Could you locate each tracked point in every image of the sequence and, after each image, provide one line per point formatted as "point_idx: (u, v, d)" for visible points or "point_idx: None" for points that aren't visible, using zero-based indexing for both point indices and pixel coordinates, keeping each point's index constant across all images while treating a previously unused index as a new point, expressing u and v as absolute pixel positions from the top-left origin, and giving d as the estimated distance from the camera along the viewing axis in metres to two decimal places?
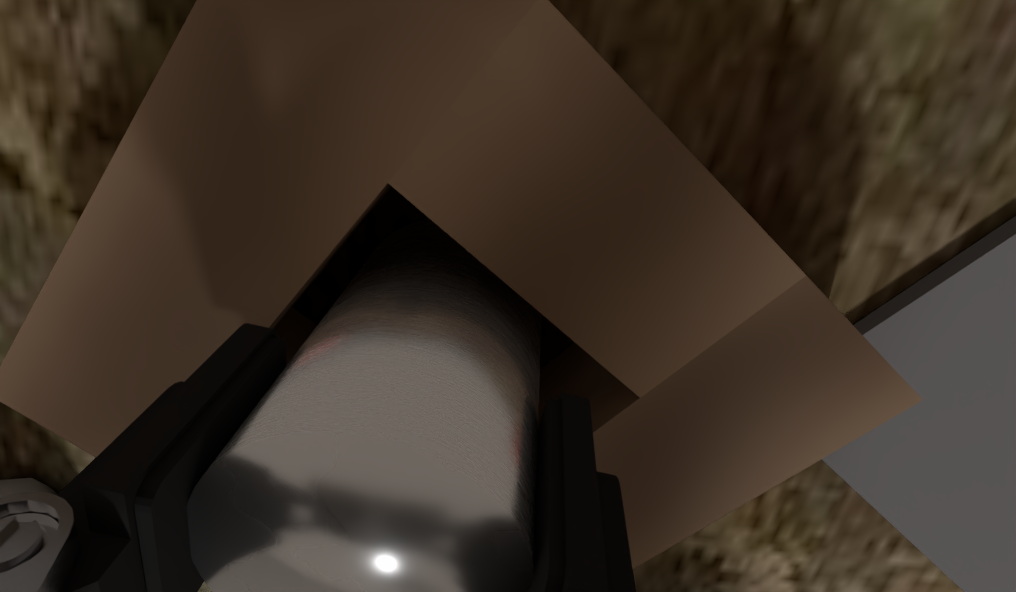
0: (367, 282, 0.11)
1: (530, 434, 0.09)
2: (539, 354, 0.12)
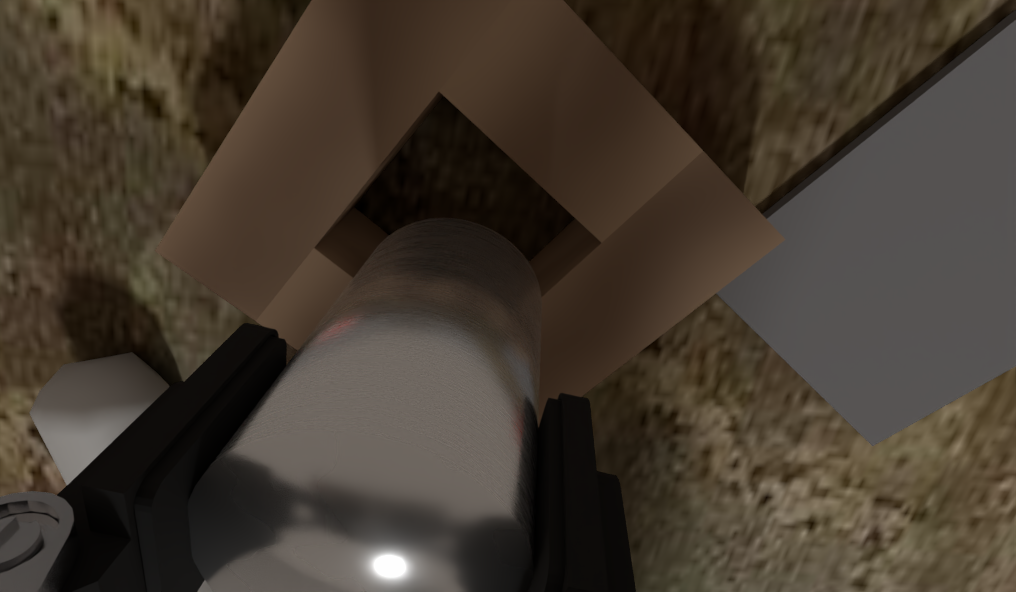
0: (367, 282, 0.11)
1: (530, 433, 0.09)
2: (539, 353, 0.12)
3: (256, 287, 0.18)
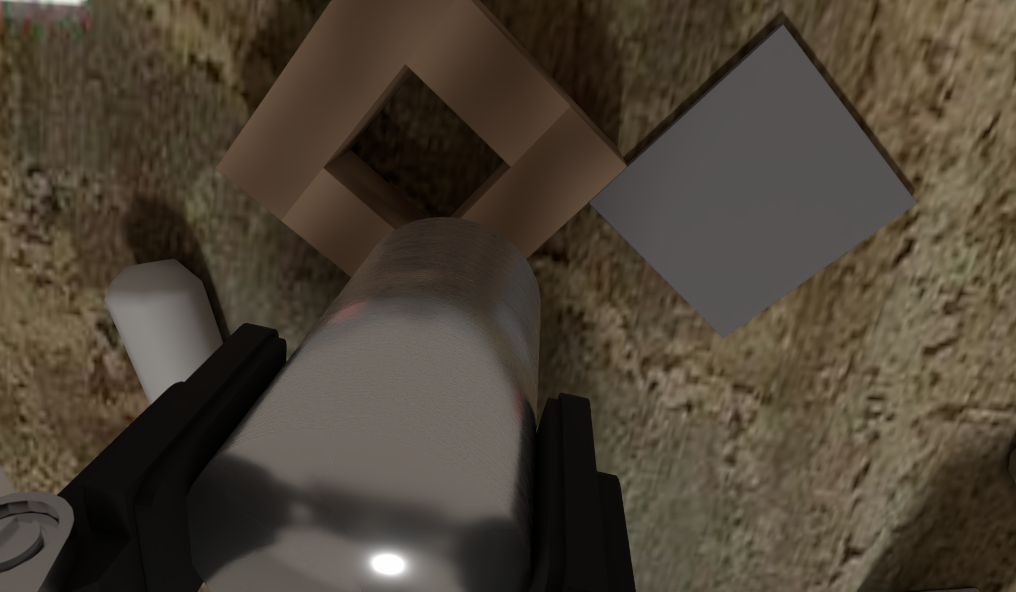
0: (365, 281, 0.11)
1: (528, 433, 0.09)
2: (538, 353, 0.12)
3: (283, 195, 0.27)
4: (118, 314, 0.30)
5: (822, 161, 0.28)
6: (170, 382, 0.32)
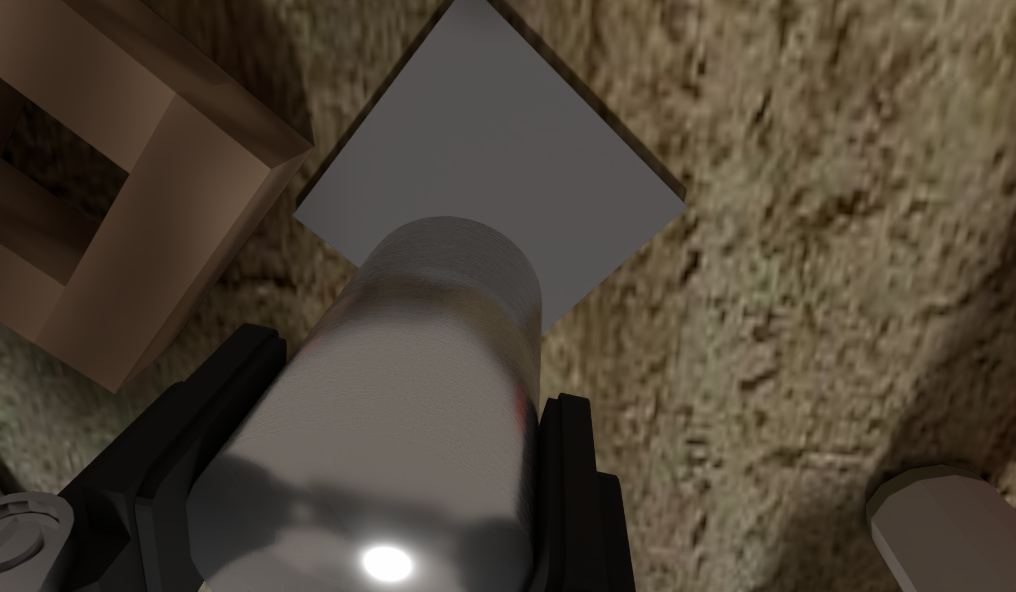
0: (367, 280, 0.11)
1: (531, 432, 0.09)
2: (540, 352, 0.12)
3: None
4: None
5: (559, 157, 0.22)
6: None
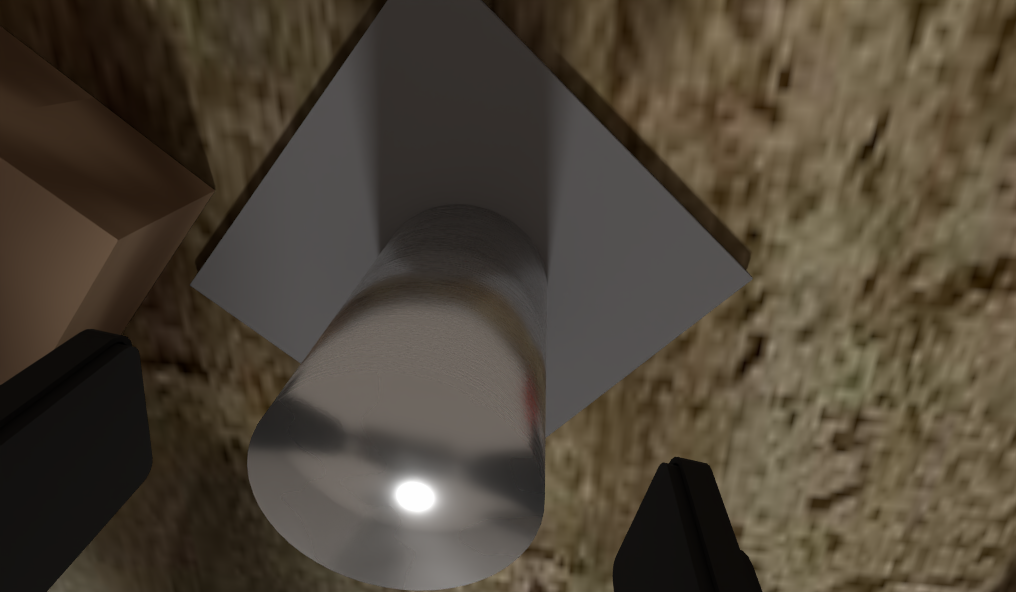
0: (391, 259, 0.12)
1: (539, 386, 0.10)
2: (545, 324, 0.13)
3: None
4: None
5: (568, 209, 0.15)
6: None
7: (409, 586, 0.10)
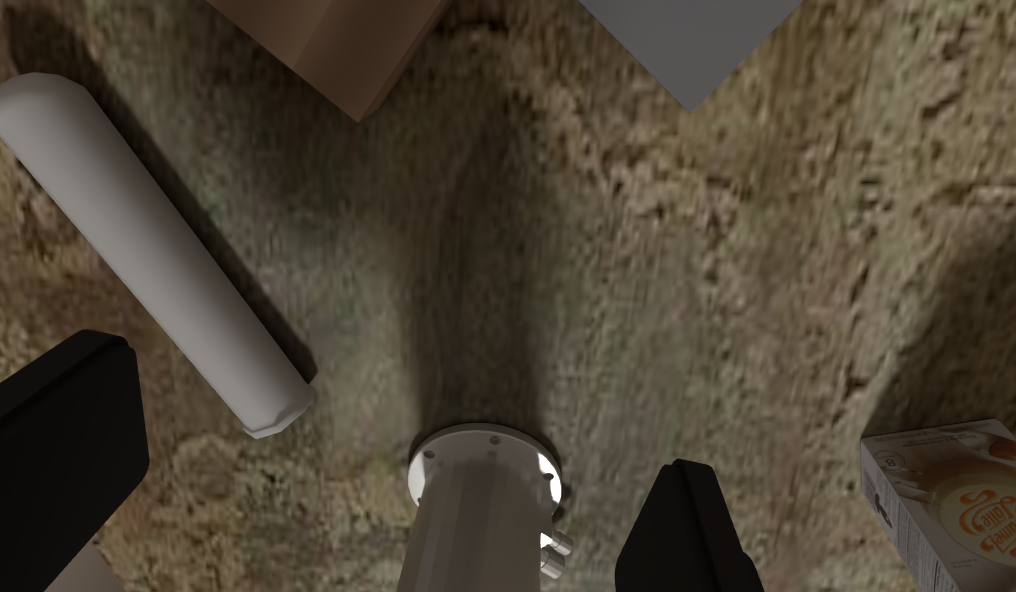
0: None
1: None
2: None
3: None
4: None
5: None
6: (84, 197, 0.30)
7: None
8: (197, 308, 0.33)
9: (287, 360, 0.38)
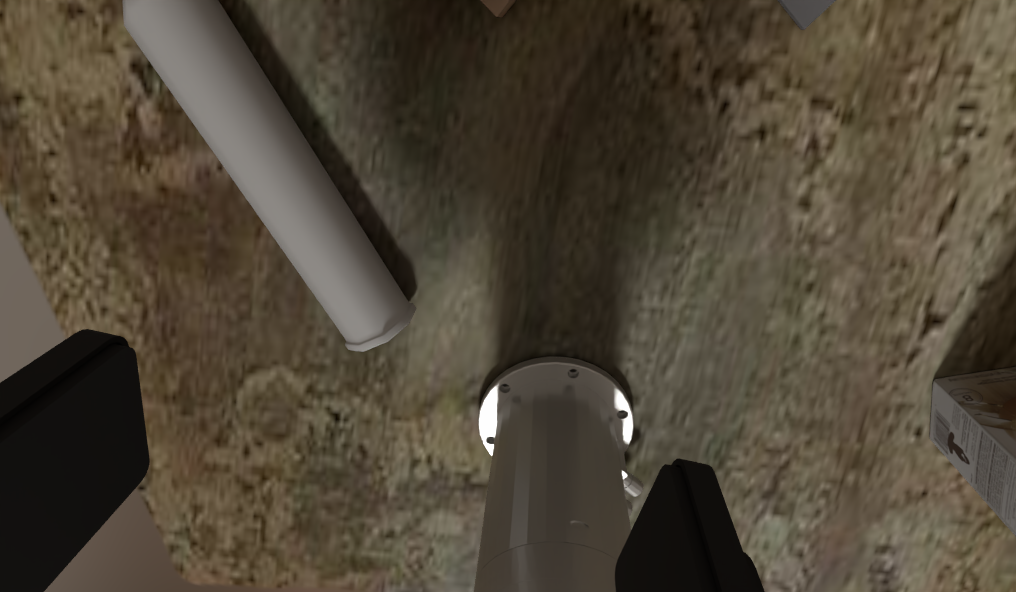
0: None
1: None
2: None
3: None
4: (134, 17, 0.29)
5: None
6: (211, 88, 0.30)
7: None
8: (311, 208, 0.34)
9: (389, 274, 0.38)
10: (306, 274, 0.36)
